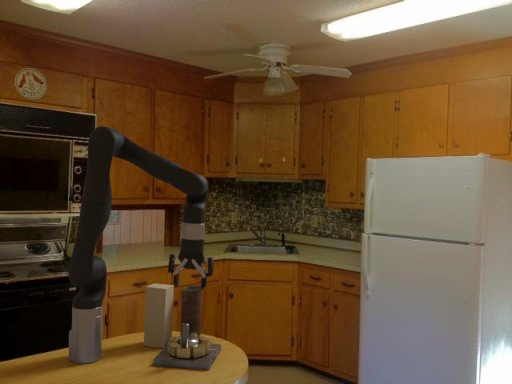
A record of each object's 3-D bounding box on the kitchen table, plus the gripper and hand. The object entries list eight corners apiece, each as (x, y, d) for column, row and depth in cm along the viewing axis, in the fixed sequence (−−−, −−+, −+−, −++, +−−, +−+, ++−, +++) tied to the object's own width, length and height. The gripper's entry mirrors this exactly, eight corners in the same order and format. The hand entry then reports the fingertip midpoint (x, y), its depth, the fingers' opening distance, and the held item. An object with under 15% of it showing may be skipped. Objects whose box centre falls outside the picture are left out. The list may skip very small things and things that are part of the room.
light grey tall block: (173, 342, 170) (174, 284, 170) (164, 348, 163) (165, 288, 163) (153, 339, 172) (154, 282, 172) (143, 346, 165) (144, 286, 165)
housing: (153, 365, 148) (154, 346, 148) (171, 346, 166) (171, 329, 166) (209, 370, 146) (209, 350, 146) (221, 349, 164) (221, 332, 164)
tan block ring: (162, 356, 150) (163, 323, 150) (175, 342, 164) (176, 312, 163) (204, 359, 148) (205, 326, 148) (213, 345, 162) (214, 314, 162)
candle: (202, 343, 170) (204, 288, 170) (182, 345, 167) (184, 289, 167) (197, 336, 177) (198, 283, 177) (178, 338, 175) (179, 284, 174)
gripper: (167, 236, 146) (164, 288, 146) (211, 240, 144) (208, 292, 144) (174, 234, 153) (172, 283, 154) (217, 237, 151) (214, 287, 152)
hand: (189, 287), depth 149 cm, fingers open, 8 cm apart
